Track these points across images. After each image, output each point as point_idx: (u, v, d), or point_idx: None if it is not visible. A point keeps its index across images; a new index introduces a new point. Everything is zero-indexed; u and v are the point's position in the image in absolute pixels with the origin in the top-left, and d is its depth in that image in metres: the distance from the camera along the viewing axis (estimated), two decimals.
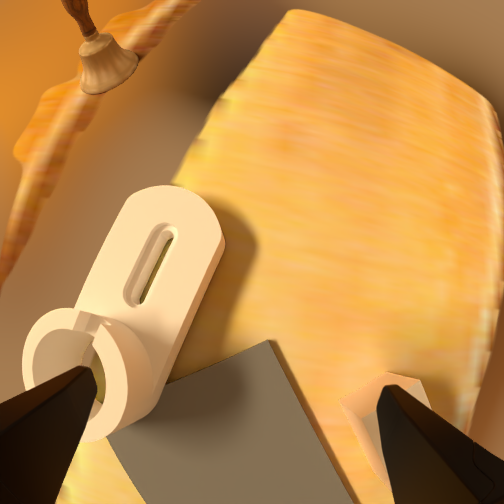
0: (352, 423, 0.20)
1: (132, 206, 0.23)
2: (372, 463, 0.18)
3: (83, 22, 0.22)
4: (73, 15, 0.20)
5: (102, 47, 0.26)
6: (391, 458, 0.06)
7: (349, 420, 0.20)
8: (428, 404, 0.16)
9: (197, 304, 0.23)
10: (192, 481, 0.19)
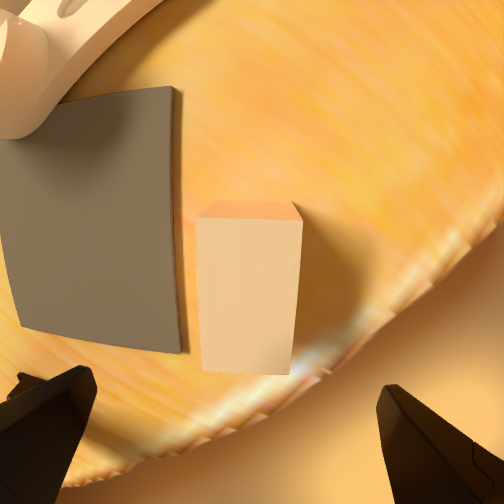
0: None
1: None
2: None
3: None
4: None
5: None
6: (391, 458, 0.06)
7: None
8: (297, 266, 0.13)
9: (122, 27, 0.14)
10: (39, 223, 0.19)
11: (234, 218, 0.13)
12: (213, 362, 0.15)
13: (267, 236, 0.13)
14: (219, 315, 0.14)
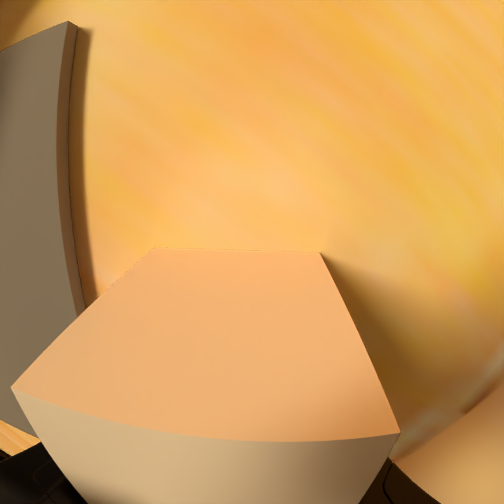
0: None
1: None
2: None
3: None
4: None
5: None
6: None
7: None
8: None
9: None
10: None
11: (123, 418, 0.03)
12: None
13: (253, 476, 0.03)
14: None
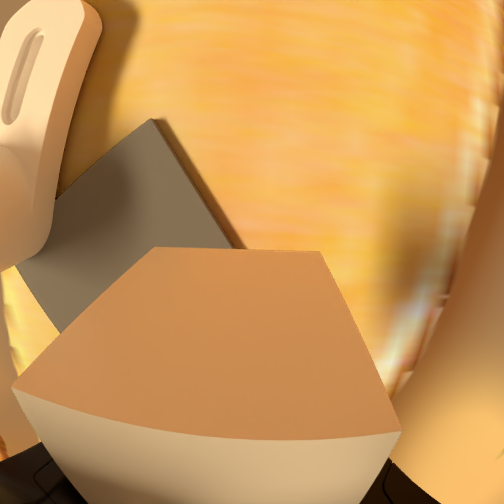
0: None
1: (8, 30, 0.12)
2: None
3: None
4: None
5: None
6: None
7: None
8: None
9: (71, 97, 0.15)
10: None
11: (123, 417, 0.03)
12: None
13: (255, 475, 0.03)
14: None
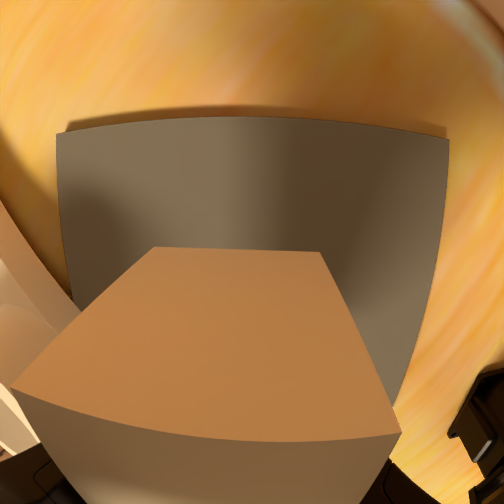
0: None
1: None
2: None
3: None
4: None
5: None
6: None
7: None
8: None
9: None
10: None
11: (122, 418, 0.03)
12: None
13: (253, 476, 0.03)
14: None
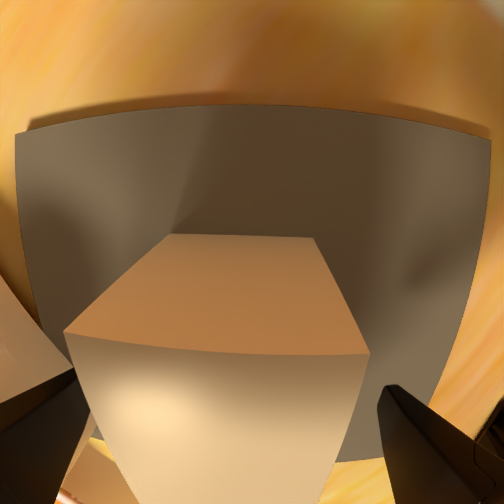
0: None
1: None
2: None
3: None
4: None
5: None
6: (392, 458, 0.06)
7: None
8: (336, 442, 0.04)
9: None
10: None
11: (161, 344, 0.04)
12: None
13: (260, 393, 0.04)
14: (165, 492, 0.05)
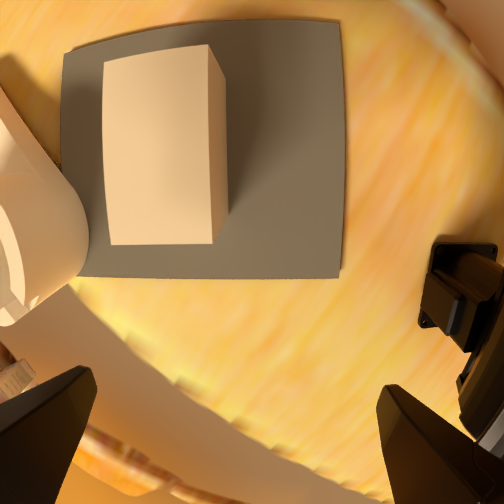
0: None
1: None
2: None
3: None
4: None
5: None
6: (391, 458, 0.06)
7: None
8: (205, 90, 0.10)
9: (12, 114, 0.16)
10: None
11: (139, 55, 0.10)
12: (121, 230, 0.12)
13: (171, 64, 0.10)
14: (124, 161, 0.11)
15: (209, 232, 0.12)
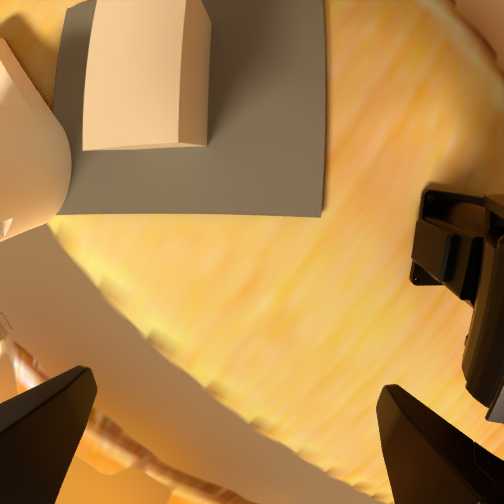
0: None
1: None
2: None
3: None
4: None
5: None
6: (391, 458, 0.06)
7: None
8: (182, 9, 0.10)
9: (14, 63, 0.15)
10: None
11: None
12: (93, 135, 0.11)
13: None
14: (104, 72, 0.10)
15: (175, 131, 0.11)
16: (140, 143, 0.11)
